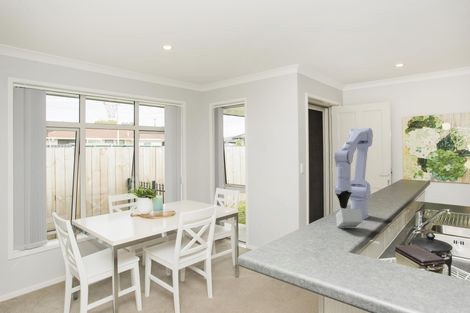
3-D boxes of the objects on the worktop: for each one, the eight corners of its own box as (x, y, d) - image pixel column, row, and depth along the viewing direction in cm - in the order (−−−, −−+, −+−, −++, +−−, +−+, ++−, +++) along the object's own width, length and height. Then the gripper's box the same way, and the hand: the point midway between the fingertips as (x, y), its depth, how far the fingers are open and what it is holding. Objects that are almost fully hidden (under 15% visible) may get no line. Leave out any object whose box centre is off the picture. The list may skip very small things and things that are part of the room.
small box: (353, 214, 127) (361, 208, 118) (355, 227, 125) (363, 221, 115) (335, 214, 128) (341, 208, 119) (336, 227, 126) (342, 221, 116)
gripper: (340, 175, 135) (340, 204, 135) (328, 178, 124) (328, 209, 124) (356, 176, 130) (356, 206, 130) (344, 179, 119) (344, 212, 119)
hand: (343, 208), depth 127 cm, fingers closed
